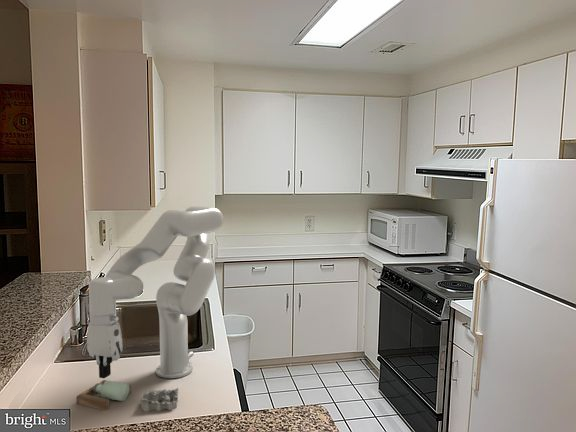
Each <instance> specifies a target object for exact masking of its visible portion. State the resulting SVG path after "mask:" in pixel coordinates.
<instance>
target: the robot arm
mask: <svg viewBox="0 0 576 432" xmlns="http://www.w3.org/2000/svg"><path fill="white" fill-rule="evenodd" d="M223 223H224V215H223V213H222V211H221V210H219V209H218V208H216V207H209V206H198V205H197V206H196V205H194V206H188V207H187V208H186V209H185V210H179V209H178V210H177V209H176V210H175V209H172V210H171V209H170V210H166V211H164V212H163V213H162V214H161V215H160V216H159V218H158V219H157V221H155V223H154V224H153V226H152V227H151V228H150V229H149V231H148V233H146V235H145V236H144V237H143V239H142V240H140V242H139V243H137V244H136V245H135V246H133V247H132V248H130V249H129V250H128V251H126V252H124V253H123V254H122V255H121V256H120V257H119V258H118V259H117V260H116V261H115V262H114V264H113V265H112V266H111V267H110V269H109V270H108V272H107V273H106V274H105V276H104V277H103V276H102V277H95V278H93V279H91V280H90V281H89V283H88V302H89V305H88V306H89V308H88V311H89V323H88V325H87V326H88V327H87V333H86V346H87V347H86V348H87V352H88V355H89V356H90V357H91V358H94V359H95V361H96V364H97V365H98V373H99V374H98V377H99V378H100V379H106V378H107V377H109V376H111V373H112V372H111V370H112V369H111V368H112V367H111V366H112V365H111V364H112V363H113V362H114V361H118V360H120V359H121V356H120V353H122V352H123V347H124V346H123V336H122V330H121V325H120V322H119V316H117V301H121V300H133V299H135V298H137V297H139V296H140V295H141V294H142V292H143V290H144V282H143V281H142V279H141V278H140V277H139V276H137V275H134V274H133V273H135V272H136V271H137V270H138V269H139V268H140V267H142V266H144V265H146V264H148V263H151V262H154V261H155V262H156V260H159V259H161V258H163V256H164V255H165V254H166V252H168V250H169V248H170V247H172V244H173V243H174V241H175V240H176V239H177V237H186V242H185V243H184V246H183V248H182V251H181V252H180V254H179V256H178V258H177V261H176V262H175V265H174V267H173V276H174V277H175V278H176V279H178V280H179V281H181V282H184V283H185V284H183V283H178V282H173V281H171V282H165V283H164V284H162V285H161V286H159V288H158V289H157V292H156V294H155V297H156V298H155V302H156V306H157V310H158V319H159V349H160V350H159V357H160V358H159V361H160V362H159V363H160V364H159V365H157V367H156V368H155V375H156V376H158V377H159V378H163V379H178V378H183V377H185V376H187V375H190V373H192V371H193V364H192V363H191V362H190V361H189V360H190V358H192V357H193V356H194V355H195V354H194V352H193V351H192V350H191V351H189V346H188V343H189V340H188V339H189V338H188V333H189V332H188V326H189V325H188V317H189V316H193V315H195V314H196V313H197V312H198V311H199V310H200V309H201V307H202V305H203V303H204V302H205V300H206V297H207V295H208V292H209V290H210V288H211V286H212V284H213V282H214V279H215V275H216V274H215V273H216V269H215V265H214V263H213V262H212V261H211V260H210V259H208V258H206V257H207V254H208V251H209V249H210V243H211V242H210V241H211V240H210V236H209V233H210V234H211V233H214V232H217V231H218V230H220V229H221V228H222V226H223ZM187 316H188V317H187Z"/></svg>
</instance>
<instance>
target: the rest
mask: <svg viewBox="0 0 576 432" xmlns="http://www.w3.org/2000/svg"><path fill="white" fill-rule="evenodd" d="M106 381H108V380H107V379H103V380H101V381H100V382H98V383H99V384H101V385H103V384H104V382H106ZM94 386H95V385H92V387H89V388H88V389H86V390H85V391H83V392H81V393H79V394H78V395H76V404H77V405H81V406H85V407H89V408H94V409H98V410H102V411H103V410H104V411H106V410H108V409H109V408H110V399H105V398H102V397H100V396H99V397H98V396H96V395H98V394H99V393H94V391H93V388H94ZM131 393H132V385H131V384H129V394H131Z"/></svg>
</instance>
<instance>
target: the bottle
mask: <svg viewBox="0 0 576 432" xmlns="http://www.w3.org/2000/svg"><path fill="white" fill-rule="evenodd" d="M99 383H100V382H97V383H95V384H94V385H93V386H94V388H93V391H94V393H98V394H99V393H100V398H104V399H109V400H114V401H119V402H124V401H126V399H127V398H128V396H129V394H130V393H129V385H130V384H129V383H128V382H122V381H116V380H107V381H106V382H104V384H103V385H101V384H99Z"/></svg>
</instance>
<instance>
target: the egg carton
mask: <svg viewBox="0 0 576 432" xmlns="http://www.w3.org/2000/svg"><path fill="white" fill-rule="evenodd" d="M171 400H172V402H171ZM159 401H161V402H159ZM178 402H179V388H178V387H177V388H175V389H168V390H167V389H161V390H154V389H150V390H147V391H146V392H144V393H143V396H142V398H141V399H140V403H141V411H144V412H146V413H147V412H150V411H152V410H156V411H157V412H159V411H162V410H164V409H167V410H168V411H173V410H174V409H177V408H178Z"/></svg>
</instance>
